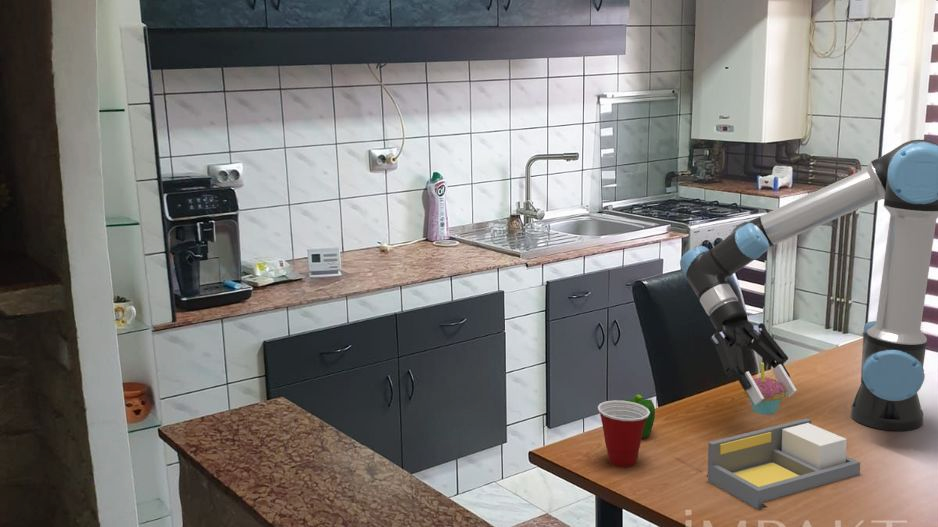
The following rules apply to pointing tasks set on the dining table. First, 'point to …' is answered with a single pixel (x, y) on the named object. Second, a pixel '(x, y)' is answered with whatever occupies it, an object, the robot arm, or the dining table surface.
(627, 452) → the plastic cup
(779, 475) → the tray
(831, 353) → the dining table surface
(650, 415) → the bell pepper
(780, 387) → the cupcake
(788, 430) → the blank block
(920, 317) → the robot arm
